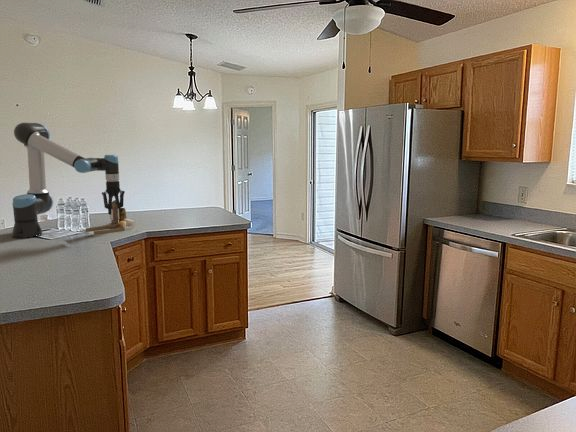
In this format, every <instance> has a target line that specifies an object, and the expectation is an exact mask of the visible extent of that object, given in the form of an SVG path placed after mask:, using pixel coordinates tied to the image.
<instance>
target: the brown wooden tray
mask: <svg viewBox="0 0 576 432" xmlns="http://www.w3.org/2000/svg"><path fill="white" fill-rule="evenodd" d="M124 220H125V222H123V228H116V229H110V225H109V224H107V225H101V226H94V227H93V226H92V227H86V228H85V232H86V233H89V234H91V235H93V236H95V237H98V236H105V235H111V234H118V233H119V234H121V233H125V232H126V233H127V232H132V231H133V232H138V229H136V223H135V222H136V221H135V220H133V219H129V218H127V219H124ZM118 223H119V220H118ZM126 224H127V226H126Z"/></svg>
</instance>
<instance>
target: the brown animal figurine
mask: <svg viewBox="0 0 576 432" xmlns="http://www.w3.org/2000/svg"><path fill="white" fill-rule="evenodd" d="M112 204H116V201H115V199H114V200H112ZM127 217H128V216H127V211H126V208H125V207H121V208H120V213H119V219H118V220H119V222H120V221H125V220H124V219H128V218H127Z"/></svg>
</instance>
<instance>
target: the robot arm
mask: <svg viewBox="0 0 576 432" xmlns="http://www.w3.org/2000/svg"><path fill="white" fill-rule="evenodd" d="M13 129H14V130H13V135H14V137H15V139H16V140H17V141H18V142H19V143H21V144H23V145H24V147H25V148H26V149H27V165H28V166H27V167H28V181H29V182H28V183H29V189H28V190H27V191H26V193H25V194H20V195H19V194H18V195H16V196H14V197H13V198H12V209H13V221H14V224H13V228H12V231H11V234H12V236H11V237H12V238H14V239H28V238H27V237H31V238H34V237H33V236H36V235H39V234H42V235H43V230H42V228H41V225H40V223H39V221H38V219H39V218H38V215H41V214H45V213H47V212H49V211H50V210H51V209H52V208H53V204H54V199H53V197H52V196H51V195H50V191H49V190H48V189H47V183H46V168H45V167H46V165H45V164H46V163H45V154H47V155H49V156H51V158H52V157H53V158H55V159H57V160H58V161H60V162H62V163H65V164H66V165H69V166H70V167H72V168H74V170H75V171H76V172H78V173H81V174H86V173H90V172H96V171H98V172H99V171H100V172H102V171H103V172H105V188H106V189H105V190H104V191H103V192H101V195H102V199H103V206H104V208H105V209H107V211H108V213H107V214H108V215H109V220H110V221H111V220H113V209H111V207H112V202H113V198H114V200H115V201H116V204H117V205H118V219H119V213H120V208H124V201H125V200H124V199H125V198H124V197H125V192H126V191H125V190H121V188H120V185H121V183H120V181H119V180H120V171H119V158H118V157H119V156H118V155H116V154H105V155H104V157H83V156H82V155H80V154H78V153H76V152H74V151H72V150H71V149H68V148H67V147H65V146H62V145H60V144H58V143H56V142H55V141H52V140H50V138H51V135H50V134H51V133H50V130H49V129H48V127H46V126H45V125H44V124H42V123H37V122H21V123H18V124H16V126H15V127H14V128H13Z"/></svg>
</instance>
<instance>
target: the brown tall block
mask: <svg viewBox="0 0 576 432" xmlns="http://www.w3.org/2000/svg"><path fill="white" fill-rule="evenodd" d="M111 209H113V220H110V221H111V222H109V223H108V225H110V229H116V228H121V224H119V223H118V205H117V204H112V207H111Z"/></svg>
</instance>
